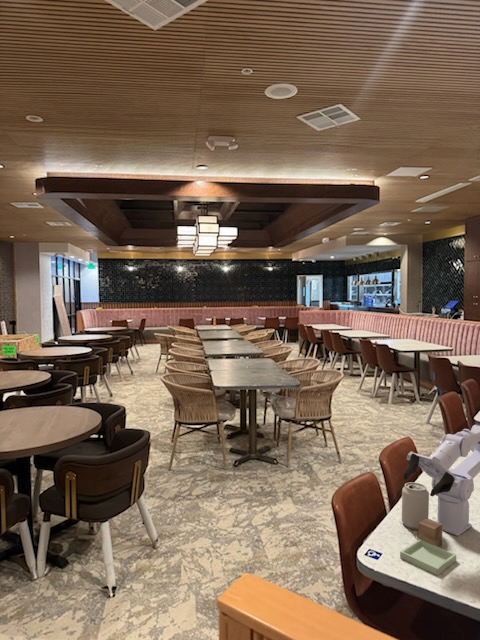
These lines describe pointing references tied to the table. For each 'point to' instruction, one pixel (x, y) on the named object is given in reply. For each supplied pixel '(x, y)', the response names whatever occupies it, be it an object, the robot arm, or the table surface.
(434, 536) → the block
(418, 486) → the can
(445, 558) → the tray
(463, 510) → the robot arm
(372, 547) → the table surface
